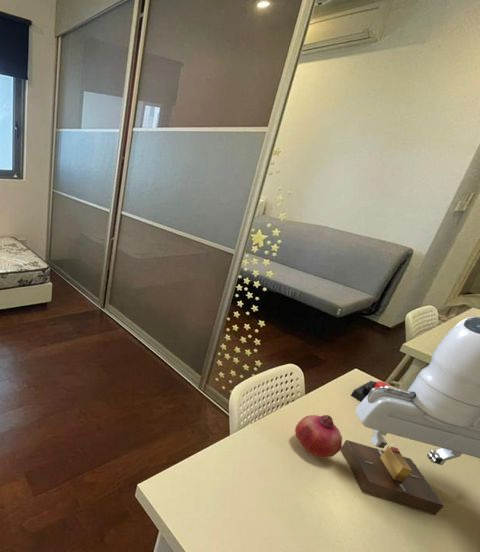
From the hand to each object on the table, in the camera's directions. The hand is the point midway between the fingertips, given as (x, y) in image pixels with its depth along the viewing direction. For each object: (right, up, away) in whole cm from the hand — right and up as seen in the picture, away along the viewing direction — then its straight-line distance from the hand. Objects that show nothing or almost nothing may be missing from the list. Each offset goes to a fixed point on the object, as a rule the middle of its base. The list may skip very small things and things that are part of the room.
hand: (404, 452), depth 63 cm
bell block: (+17, 0, +25) cm, 30 cm away
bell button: (+18, +4, +23) cm, 30 cm away
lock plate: (-1, -7, +3) cm, 8 cm away
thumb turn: (-1, -4, +2) cm, 5 cm away
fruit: (-13, -4, +8) cm, 16 cm away
